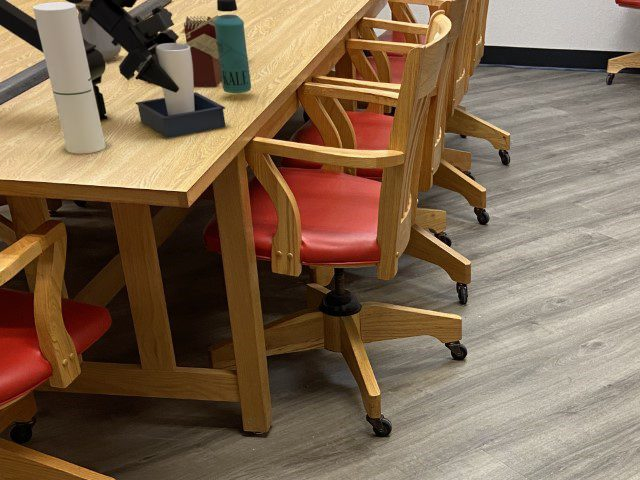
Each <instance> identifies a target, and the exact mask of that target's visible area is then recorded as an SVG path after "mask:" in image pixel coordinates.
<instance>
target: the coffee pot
mask: <svg viewBox="0 0 640 480" xmlns="http://www.w3.org/2000/svg"><path fill="white" fill-rule="evenodd" d="M91 1H92V0H86V1H83V2H81V3H77V4H75V5H76V10H77V14H78V19H79V24H80V28H81V33H82V38H84V39H85V40H86V41H87V42H88V43H90V44H93V45H96V46H97V47H96V48H95V49H97V50H98V51H99V52H101V54H102V55H103V58H104V61H105V63H108V62H112V61H114V60H116V58H117V56H118V55H119V54H120V53H121V50H122V47H121V46H120V45H117V46H115V45H113V44H112V43H111V42H112V41H113V38H112V37H111V36H110V35H109V34H108V33H107V32H106V31H105V30H104V29H102V28H101V27H100V26H99V25H98V24H97V23H96V22H95V21H94V20H92V21H91V22H89V23H87V24H85V25H84V24H82V19H81V12H80V9H81V8H83V7H88V6H89V4H90V3H91Z"/></svg>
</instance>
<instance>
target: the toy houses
mask: <svg viewBox="0 0 640 480" xmlns="http://www.w3.org/2000/svg"><path fill="white" fill-rule="evenodd" d="M218 16H219V15H218V14H217V15H214V16H213V17H211V16H207V17H206V16H205V15H204V16H198V15H197V16H196V15H193V16H192V15H190V16H187V15H186V17H185V21H184V22H183V29H182V30H181V31H180V32H179V34H184V36H185V42H184V43H183V44H186V45H189V46H190V50H191V56H192V64H193V80H194V88H200V87H201V88H217V87H218V86H219V84H220V83H221V80H222V78H221V76H220V75H221V70H220V64H219V63H220V62H219V55H218V52H217V51H218V47H217V44H216V43H217V42H216V41H217V40H216V38H215V37H216V31H215V25H214V21H215V20H216V19H217V17H218Z"/></svg>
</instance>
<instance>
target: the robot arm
mask: <svg viewBox="0 0 640 480" xmlns="http://www.w3.org/2000/svg"><path fill="white" fill-rule="evenodd" d="M83 1H86V0H65V2H67V3H73V4H77V3H81V2H83ZM137 1H138V0H92V1H91V3H90V4H89V6H88V7H83V8H81V9H80V12H81V19H82V24H84V25H85V24H87V23H89V22H91V21H92V20H94V21H95V22H96V23H97V24H98V25H99V26H100V27H101V28H102V29H104V30H105V31H106V32H107V33H108V34H109V35H110V36H111V37H112V38H113V41H112V42H111V43H112V44H113V45H115V46H117V45H120V46H121V49H122V50H124V51H125V52H126V53H127V54H126V55H125V57H124V58H123V60H122V61H121V62H120V64H119V65H118V69H119V73H120V75H121V76H122V77H123V78H124V79H126V80H127V81H130V80H131V79H132V78H133V79H135V80H137V81H138V80H139V81H143V82H145V83H148V84H151V85H154V86H157V87H160V88H161V89H162V88H165V89H167V90H170V91H173V92H175V93H176V92H178V90H179V87H178V86H177V85H176V84H175V82H174V81H173V80H172V79H171V78H170V76H169V75H168V74H167V73H166V72H165V71H164V70H163V68H162V67H161V66H160V64H159V60H158V55H157V53H156V49H155V47H156V46H157V45H160V44H165V43H178V42H177V41H178V39H179V38H180V37H179V35H178V34H177V32H175V31H174V30H173V29H170V28H171V27H173V26H175V23H174V21H173V19H172V17H173V12H171V11H169V10H168V7H167V8H165V7H164V6H163V5H158V6H156V7H154V8H153V9H151V16H149V17H147V18H146V19H143V18H142V17H141V16H138V15H135V16H132V14H130V13H129V12H128V11H127V10H126V9H125V8H128V9H131V8H133V7H134V6H135V4H136V2H137ZM0 26H1V27H2V28H4V29H5V30H7V31H8V32H9V33H11V34H13V35H14V36H16V37H18V38H19V39H21V40H22V41H24V42H26V44H29V45H30V46H32V47H33V48H35V49H37V51H39V52H40V53H42V54H44V52H43V48H42V44H41V39H40V35H39V31H38V27H37V23H36V18H35V17H33V16H32V15H29V14H28V13H27V12H25V11H24V10H22V9H20V8H19V7H17V6H16V5H14V4H13V3H11V2H9V1H8V0H0ZM83 42H84V47H85V52H86V57H87V61H88V66H89V71H90V75H91V80H92V85H93V90H94V94H95V99H96V104H97V108H98V113H99V118H100V121H105V120H108V119H109V117H108V115H106V114H107V108H106V104H105V99H104V94H103V93H102V92H100V87H99V86H98V84H101V83H102V79H103V75H104V74H105V71H106V62H105V61H104V58H103V55H102V54H101V52H99V51H98V50H97V49H95V48H96V47H97V46H96V45H93V44H90V43H88V42H87V41H86V40H85V39H84V38H83ZM135 73H137V75H136V74H135ZM134 77H135V78H134Z"/></svg>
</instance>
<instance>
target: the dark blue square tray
mask: <svg viewBox="0 0 640 480" xmlns="http://www.w3.org/2000/svg"><path fill="white" fill-rule="evenodd" d="M135 105H136V106H137V107H138V113H139V119H140V123H141V124H143V125H145V126H146V127H147V128H149V129H151V130H152V131H154V132H155V133H157V134H159V135H161V136H163V137H164V138H166V139H170V138H175V137H176V138H177V137H180V136H185V135H192V134H196V133H201V132H207V131H212V130H218V129H223V128H226V120H225V112H224V110H226V107H225V106H224V105H222V104H220V103H218V102H216V101H214V100H212V99H210V98H208V97H207V96H204V95H202V94H201V93H199V92H197V91H194V107H195V111H193V112H187V113H181V114H176V115H170V116H168V113H167V108H166V103H165V99H164V97H160V98H153V99H148V100H147V99H146V100H142V101H136V102H135Z"/></svg>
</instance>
